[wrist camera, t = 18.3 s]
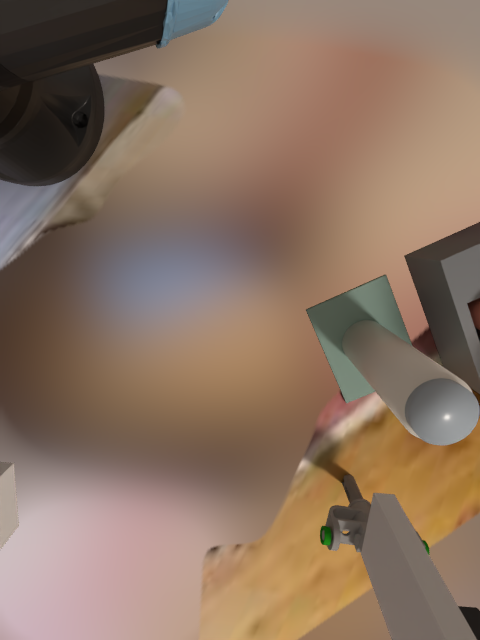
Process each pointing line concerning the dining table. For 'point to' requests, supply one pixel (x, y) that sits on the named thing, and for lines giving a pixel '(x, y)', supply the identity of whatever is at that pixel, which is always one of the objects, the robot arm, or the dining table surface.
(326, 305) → the mat
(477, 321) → the pink egg shape
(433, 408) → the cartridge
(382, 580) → the robot arm
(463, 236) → the housing
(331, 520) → the mechanical component
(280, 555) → the dining table surface
